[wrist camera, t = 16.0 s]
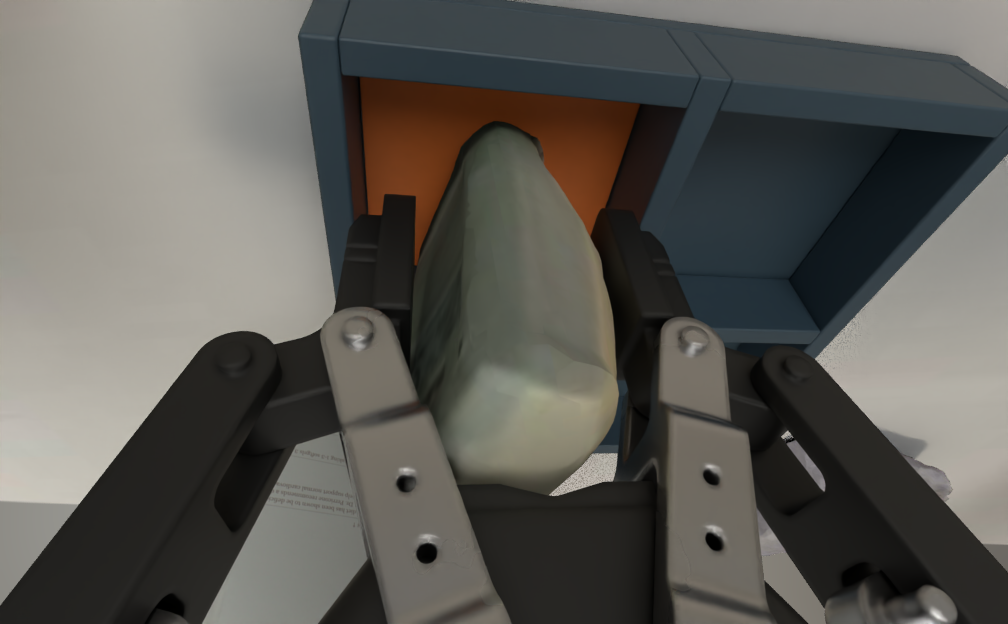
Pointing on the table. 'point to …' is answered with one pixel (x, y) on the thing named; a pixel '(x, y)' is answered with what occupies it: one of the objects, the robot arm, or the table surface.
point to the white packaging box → (297, 544)
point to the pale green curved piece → (512, 321)
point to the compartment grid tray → (664, 143)
